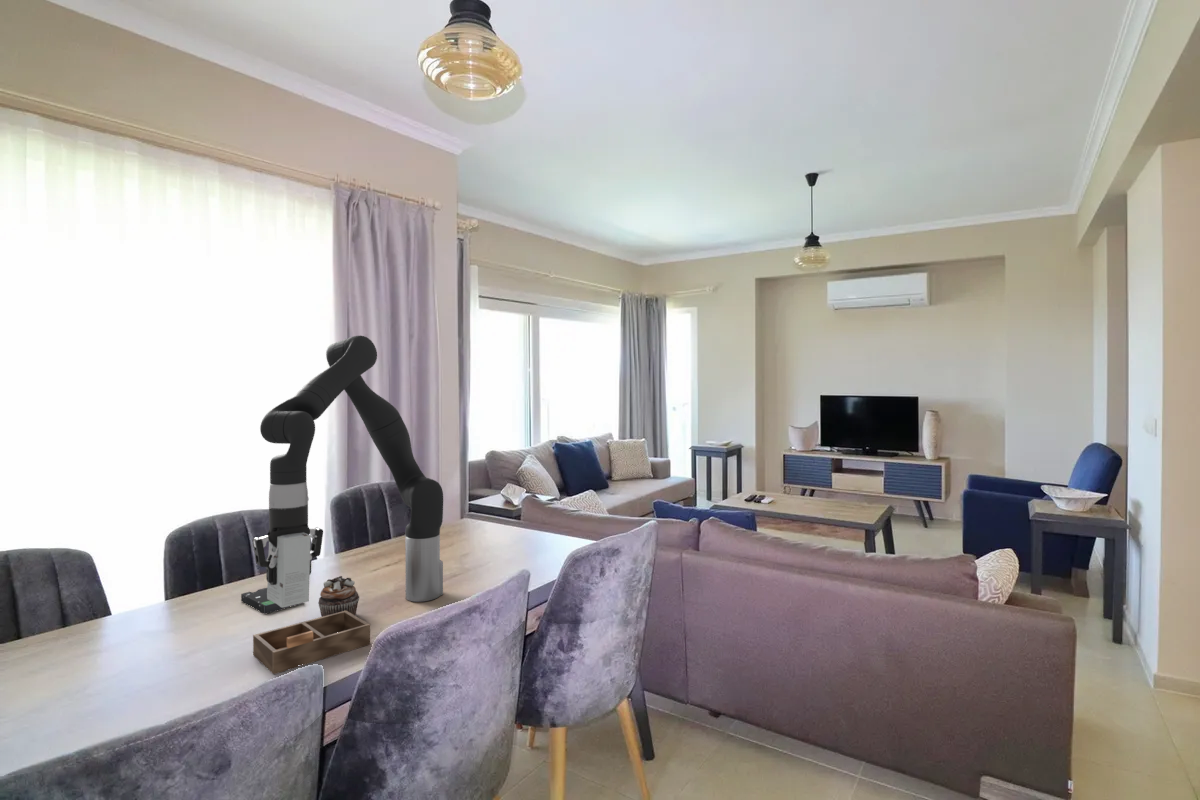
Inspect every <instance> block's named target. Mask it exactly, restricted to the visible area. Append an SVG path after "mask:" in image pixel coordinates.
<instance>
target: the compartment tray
mask: <svg viewBox="0 0 1200 800" xmlns="http://www.w3.org/2000/svg"><path fill="white" fill-rule="evenodd" d="M337 632H338V633H337ZM252 639H253V640H252V641H253V642H252V646H253V647H252V650H253V651H252V653H253V655H254V656H255V657H254V656H253V657H254V658H256V659H257V661H259V662H260V663H261V664H262V665H263V666H264V667H265V668H266V669H267V668H268V669H267V670H268V671H270V672H271V674H272V675H276V674H279V673H282V672H286V670H287V671H289V670H288V669H290V670H293V669H297V668H299V667H303V666H305V665H308V664H312V663H314V662H318V661H321V660H325V659H327V658H330V657H335V656H337V655H341V654H343V653H347V652H350V651H353V650H356V649H360V648H363V647H367V646H369V645H371V623H368V622H367V621H366V620H364V619H361V618H360V617H358V616H357V615H356V616H355V615H353V614H351V613H350V612H348V611H342V612H338V613H334V614H331V615H327V616H323V617H321V616H320V617H317V618H313V619H307V620H305V621H301V622H297V623H294V624H288V625H286V626H282V627H279V628H275V629H271V630H270V629H269V630H267V631H263V632H260V633H255V634H252ZM302 664H303V665H302ZM298 665H301V666H298Z"/></svg>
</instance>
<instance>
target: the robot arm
mask: <svg viewBox="0 0 1200 800" xmlns="http://www.w3.org/2000/svg"><path fill="white" fill-rule="evenodd" d="M325 351H326V352H325V356H326V357H325V359H326V362H327V365H328V367H327V368H326V369H325V370H323V371H322V372H320V373H318V374H317V375H315V376H314V377H313V378H311V379H310V380H309V381H308V382H307V383H306V384H305V385H303V387H301V389H300V390H299V391H298V392H297V393H296V394H295V395H294V396H293V397H291V398H289V399H286V400H285V401H283V402H281V403H280V404H278V405H277V406H275V407H273V408H272V409H270V410H269V411H268V412H267V413H266V414H265V415H264V417H263V419H262V420H261V422H260V427H259V429H260V435H261V437H262V439H264V440H265V441H266V442H268V443H271V444H282V445H283V444H288V445H289V447H288V450H287V452H286V453H285V454H284V453H283V454H278V455H276V456H274V457H272V458H271V460H270V461H269V462H270V463H269V464H270V465H269V491H268V532H267V535H264V536H260V537H253V538H252V546H253V547H252V548H253V552H254V559H255V564H256V565H258V566H259V567H260V568H265V570H266V572H265V574H266V575H265V576H266V581H267V583H268V582H269V583H270V584H271V585H276V567H275V565H276V563H277V558H278V548H277V537H278V536H282V535H287V534H294V533H303V532H304V533H306V534H308V535H310V536H311V544H310V575H311V574H312V560H313V559H314V558H315V557H320V556H321V551H322V545H323V544H322V543H323V537H324V530H323V529H322V528H319V527H318V526H317V527H314V528H310V527H309V499H310V498H309V495H308V494H309V490H308V483H307V480H308V479H307V463H308V460H309V459H308V458H309V455H310V452H311V448H312V445H313V444H312V443H313V441H314V438H315V433H316V422H315V420H317V419H319V418H320V417H321V416H322V415H323V414H324V413H325V411H326V410H327V409H328V408H329V407H330V406H331V404H332V403H333V402H334V401H336V399H337V398H338V396H339V395H341V393H342V392H345V393H346V394H347V396H348V398H349V399H350V402H351V403H352V405H353V406H354V408H355V410H356V411H357V413H358V415H359V416H360V419H361V420H362V422H363V424H364V426H365V429H366V430H367V432H368V434H369V436H370V438H371V440H372V441H373V443H374V445H375V446H376V449H377V450H378V451H379V454H380V456H381V458H382V459H383V460H384V462H385V464H386V465H387V466H388V469H389V471H390V472H391V475H392V477H393V480H394V482H395V484H396V487H397V489H398V492H399V495H400V498H401V499H402V501H403V503H404V504H405V505H406V506H407V507H408V508H410V519H409V520H410V521H409V523H407V525H406V526H405V531H404V532H405V534H404V535H405V536H404V537H405V541H404V543H405V590H404V591H405V599H406V600H407V601H410V602H415V603H416V602H419V603H420V602H427V601H433V600H435V599H437V598H439V597H440V596H442V595H444V562H443V560H441V527H442V524H443V521H444V520H443V518H444V491H443V487H442V485H441V484H440V483H439V482H438V481H437V480H435V479H433V478H429V477H427V476H426V475H425V474H424V472H423V471H422V469H421V468H420V466H419V465H418V463H417V461H416V459H415V457H414V453H413V449H412V444H411V437H410V433H409V430H408V428H407V426H406V423H405V421H404V420H403V418H402V416H401V414H400V412H399V411H398V409H397V408H396V407H395V406H394V405H392V403H390V402H389V401H388V400H386V399H384V398H383V397H382V396H380V395H379V394H378V393H376V392H375V391H374V390H372V389H371V388H370V386H369V385H368V384H367V383H366V381H365V379H364V378H363V376H362V375H363V374H364V373H366V372H367V371H369V370H370V369H371V368H372V367H374V365H375V364H376V362H377V359H378V351H377V348H376V346H375V344H374V342H373V341H372V340H371V339H370V338H368V337H367V336H365V335H354V336H350V337H348V338H345V339H342V340H340V341H336V342H334V343H332V344H330V345H329V346H328V347H327V349H326V350H325ZM267 542H268V543H269V542H270V543H271V544H272V545H273V546H274V547H276V548H277V550H276V551H275V552H274V551H273V547H272V548H271V550H270V552H269V551H268V554H269V556H267V558H266V555H265V547H266V546H267Z"/></svg>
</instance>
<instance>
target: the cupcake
mask: <svg viewBox="0 0 1200 800" xmlns="http://www.w3.org/2000/svg"><path fill="white" fill-rule="evenodd" d="M319 595H320V597H319V598H318V607H319V608H318V609H319V612H320V617H323V616H327V615H331V614H334V613H338V612H342V611H348V612H350V613H351V614H353V615H355V616H356V617H357V610H358V609H357V608H358V605H359V601H360V595H359V593H358V592H357V590H356V587H355V581H354V580H352V578H351V577H346V578H345V577H343V576H342V575H340V576H336V577H334V578H332V579H329V578H328V579H327V580H326V581H324V582H323V587H322V589H321V591H320V593H319Z"/></svg>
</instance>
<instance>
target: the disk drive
mask: <svg viewBox="0 0 1200 800" xmlns="http://www.w3.org/2000/svg"><path fill="white" fill-rule="evenodd" d="M240 595H241V596H240V597H241V599H240V601H243V602H244V603H246V604H245V605H247V604H248V605H247V606H249V605H250V606H249V607H251V606H252V607H254V608H255V609H254V608H253V609H254V610H256V609H257V610H256V611H258V610H259V611H260V612H259V611H258V612H259V613H262V614H263V613H264V614H263V615H266V613H267V614H271V613H275V612H278V611H281V609H282V610H284V608H285V609H288V608H287V607H284V608H281V607H280V606H279V605H277V604H276V603H274V602H272V601H270V600H268V599H267V587H264V588H259V589H257V590H256V591H248V592H243V593H241V594H240ZM243 602H242V603H243ZM244 603H243V604H244ZM300 605H303V604H302V603H301V604H300ZM292 606H293V607H295V606H294V605H292ZM296 606H299V605H298V604H296ZM252 607H251V608H252ZM288 607H289V608H291V607H290V606H288ZM277 610H278V611H277ZM270 612H271V613H270Z"/></svg>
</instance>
